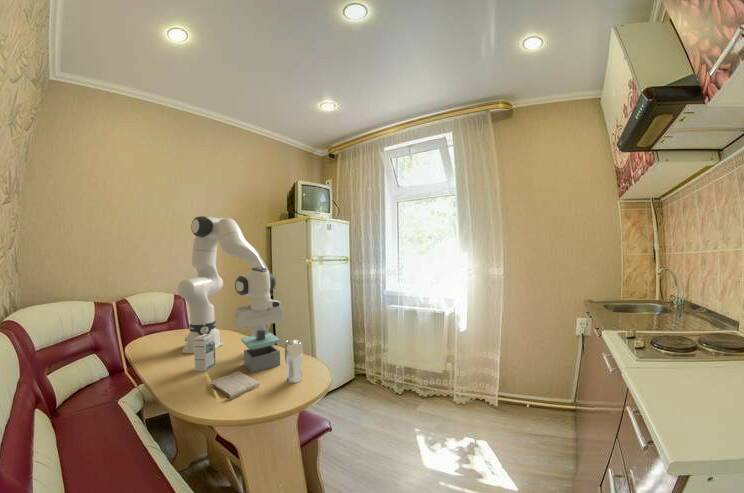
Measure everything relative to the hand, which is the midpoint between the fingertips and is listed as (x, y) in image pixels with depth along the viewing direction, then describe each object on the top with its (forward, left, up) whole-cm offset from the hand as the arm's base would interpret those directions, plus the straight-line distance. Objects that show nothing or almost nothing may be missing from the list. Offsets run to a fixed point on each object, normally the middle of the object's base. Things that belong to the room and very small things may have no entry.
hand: (260, 335), depth 125 cm
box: (0, 0, -14) cm, 14 cm away
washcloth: (+12, -14, -15) cm, 23 cm away
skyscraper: (-15, +3, -15) cm, 21 cm away
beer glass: (+22, +6, -14) cm, 27 cm away
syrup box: (-15, -20, -14) cm, 28 cm away
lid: (0, 0, -4) cm, 4 cm away
